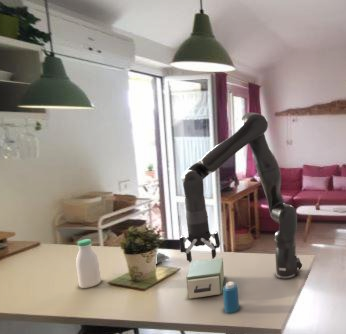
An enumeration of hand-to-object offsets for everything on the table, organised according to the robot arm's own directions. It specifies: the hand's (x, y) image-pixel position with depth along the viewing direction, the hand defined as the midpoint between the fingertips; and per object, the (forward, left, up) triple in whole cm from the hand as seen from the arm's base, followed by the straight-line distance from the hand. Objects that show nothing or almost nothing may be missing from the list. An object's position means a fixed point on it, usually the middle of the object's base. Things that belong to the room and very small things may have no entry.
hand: (202, 259), depth 132 cm
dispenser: (0, -9, -17) cm, 19 cm away
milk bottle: (+50, -27, -17) cm, 59 cm away
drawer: (0, -5, -16) cm, 16 cm away
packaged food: (+28, -43, -17) cm, 54 cm away
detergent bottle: (-11, +11, -17) cm, 23 cm away
